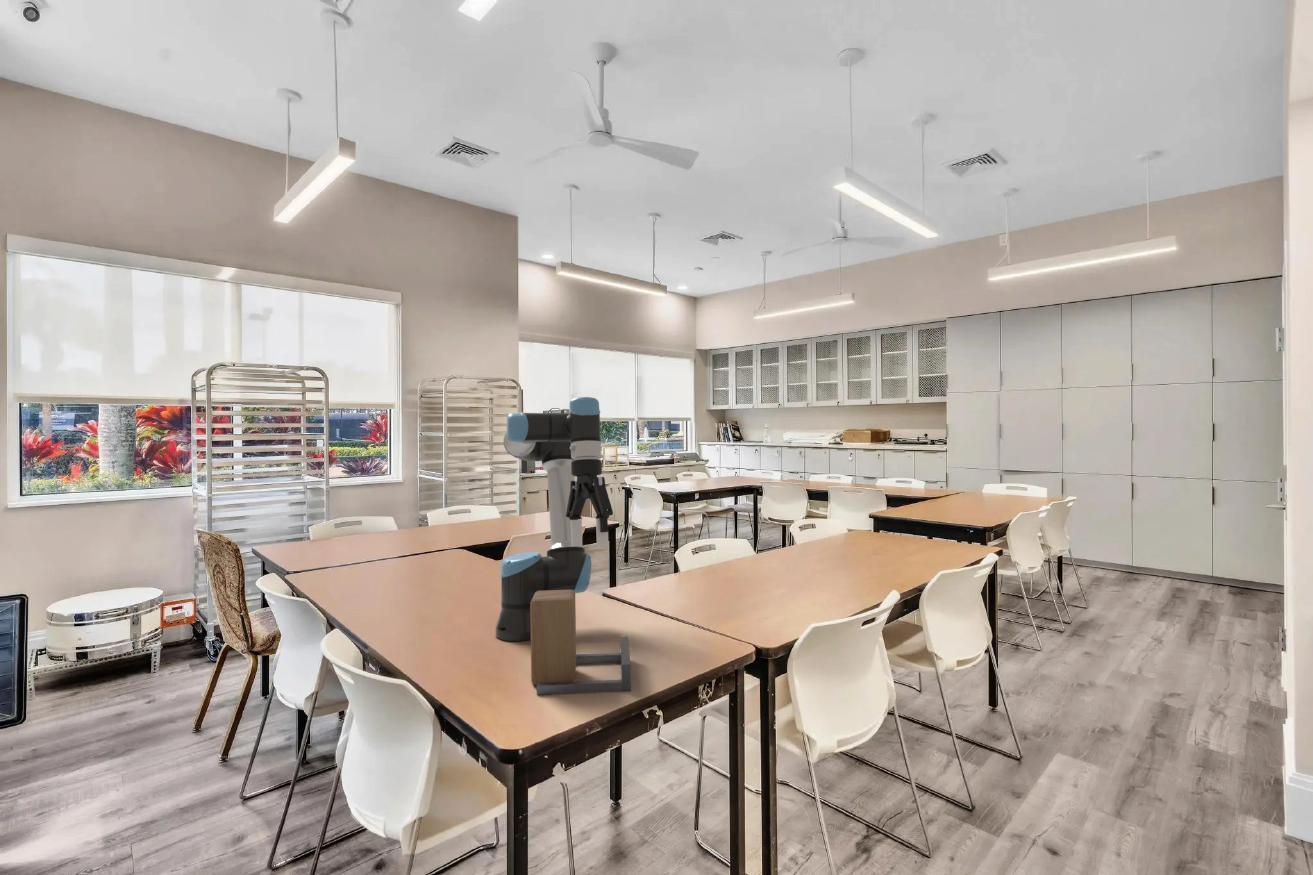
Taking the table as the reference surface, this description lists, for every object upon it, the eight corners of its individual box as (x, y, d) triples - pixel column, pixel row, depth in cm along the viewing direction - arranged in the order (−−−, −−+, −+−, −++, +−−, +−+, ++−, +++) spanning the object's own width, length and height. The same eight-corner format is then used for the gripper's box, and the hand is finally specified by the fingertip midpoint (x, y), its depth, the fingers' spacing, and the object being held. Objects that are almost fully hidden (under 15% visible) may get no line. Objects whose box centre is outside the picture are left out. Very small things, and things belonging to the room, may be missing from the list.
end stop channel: (536, 695, 135) (536, 668, 135) (546, 663, 155) (546, 639, 155) (630, 690, 136) (630, 664, 136) (628, 659, 156) (628, 636, 156)
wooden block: (535, 670, 150) (534, 589, 150) (576, 669, 150) (575, 588, 151) (530, 687, 140) (529, 600, 140) (574, 684, 140) (573, 598, 141)
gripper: (551, 464, 158) (554, 546, 156) (596, 454, 138) (600, 548, 135) (577, 464, 163) (580, 544, 160) (624, 454, 142) (628, 545, 139)
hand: (589, 546), depth 148 cm, fingers open, 13 cm apart
